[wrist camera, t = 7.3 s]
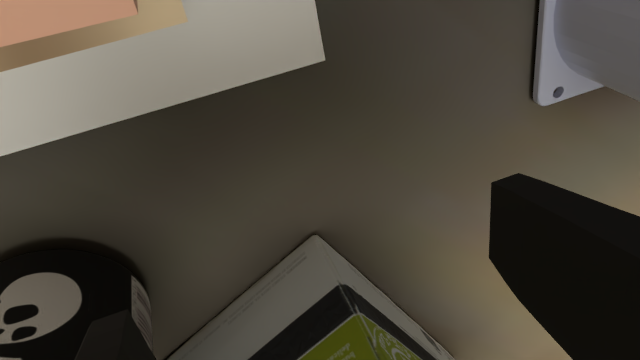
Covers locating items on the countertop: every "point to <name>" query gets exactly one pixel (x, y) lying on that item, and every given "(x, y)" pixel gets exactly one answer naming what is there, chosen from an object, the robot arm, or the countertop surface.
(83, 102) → the build plate
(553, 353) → the countertop surface
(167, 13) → the bottom brick
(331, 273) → the tea box
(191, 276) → the countertop surface
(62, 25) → the top brick
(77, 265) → the beverage can
